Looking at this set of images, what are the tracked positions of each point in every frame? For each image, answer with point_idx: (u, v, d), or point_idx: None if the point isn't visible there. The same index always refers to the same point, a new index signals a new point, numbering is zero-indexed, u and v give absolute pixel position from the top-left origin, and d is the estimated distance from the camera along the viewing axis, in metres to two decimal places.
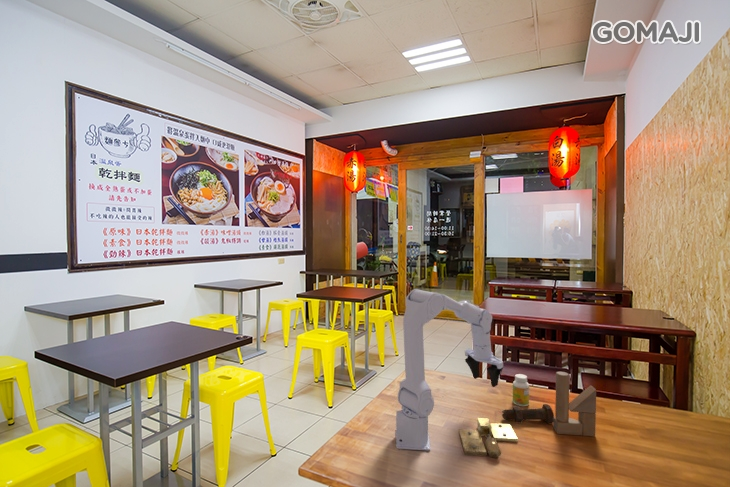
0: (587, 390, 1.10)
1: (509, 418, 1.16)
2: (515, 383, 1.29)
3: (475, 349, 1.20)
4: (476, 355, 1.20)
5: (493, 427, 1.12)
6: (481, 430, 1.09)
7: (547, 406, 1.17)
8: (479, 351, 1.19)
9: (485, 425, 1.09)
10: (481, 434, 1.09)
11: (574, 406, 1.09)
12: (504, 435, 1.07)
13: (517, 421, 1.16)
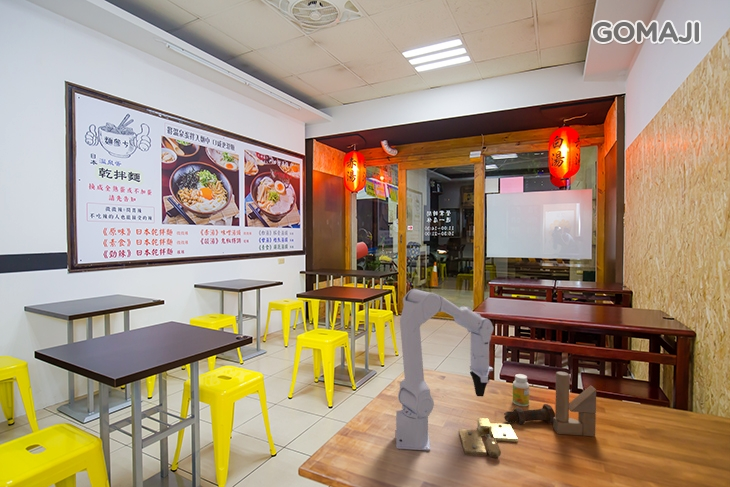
0: (587, 390, 1.10)
1: (512, 420, 1.15)
2: (515, 383, 1.29)
3: None
4: None
5: (493, 427, 1.12)
6: (481, 430, 1.09)
7: (548, 406, 1.17)
8: (472, 360, 1.17)
9: (485, 425, 1.09)
10: (481, 434, 1.09)
11: (574, 406, 1.09)
12: (504, 435, 1.07)
13: (520, 423, 1.15)
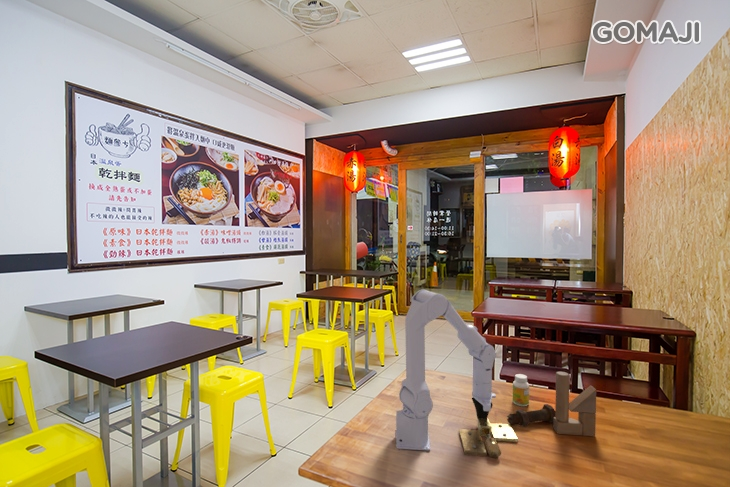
0: (587, 390, 1.10)
1: (516, 422, 1.14)
2: (515, 383, 1.29)
3: None
4: None
5: (493, 427, 1.12)
6: (481, 430, 1.09)
7: (549, 406, 1.17)
8: (474, 386, 1.13)
9: (485, 425, 1.09)
10: (481, 434, 1.09)
11: (574, 406, 1.09)
12: (504, 435, 1.07)
13: (523, 425, 1.14)
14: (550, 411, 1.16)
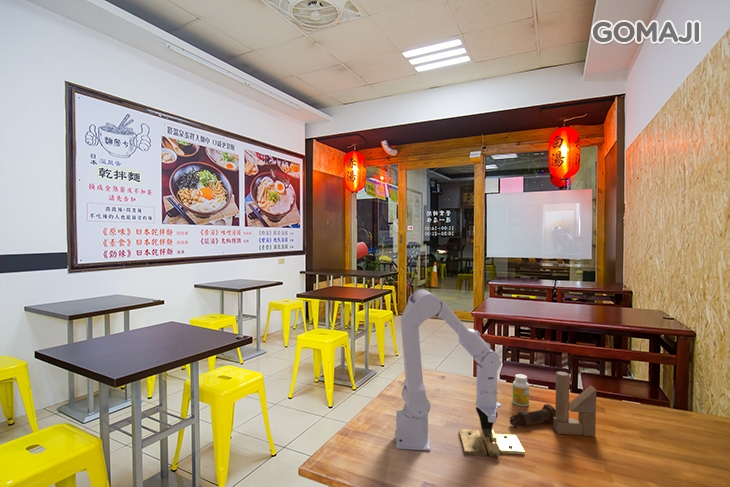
0: (587, 390, 1.10)
1: (518, 424, 1.13)
2: (515, 383, 1.29)
3: None
4: None
5: (498, 438, 1.06)
6: None
7: (549, 406, 1.17)
8: (478, 395, 1.07)
9: (490, 436, 1.03)
10: None
11: (574, 406, 1.09)
12: (510, 447, 1.01)
13: (526, 426, 1.13)
14: (551, 411, 1.16)
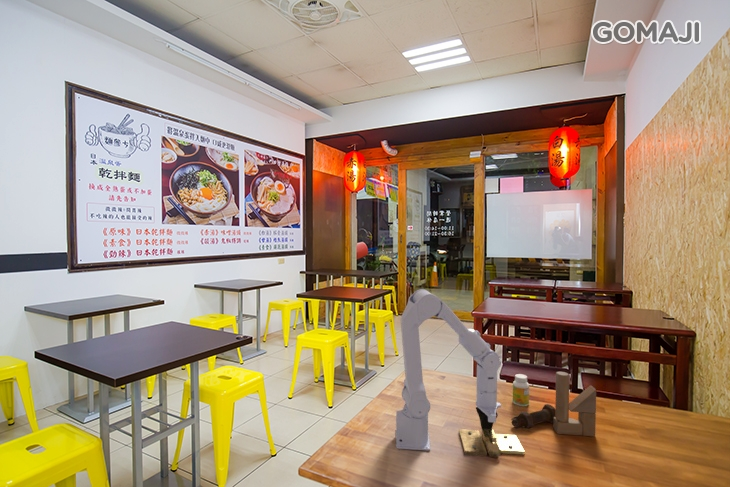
0: (587, 390, 1.10)
1: (521, 425, 1.12)
2: (515, 383, 1.29)
3: None
4: None
5: (498, 438, 1.06)
6: None
7: (550, 406, 1.17)
8: (478, 395, 1.07)
9: (490, 436, 1.03)
10: None
11: (574, 406, 1.09)
12: (510, 447, 1.01)
13: (528, 427, 1.13)
14: (552, 411, 1.16)
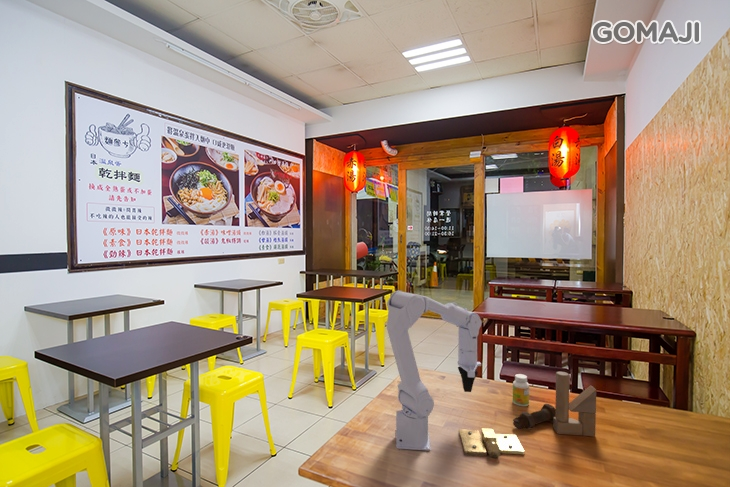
0: (587, 390, 1.10)
1: (522, 426, 1.12)
2: (515, 383, 1.29)
3: (458, 352, 1.16)
4: (458, 358, 1.16)
5: (498, 438, 1.06)
6: None
7: (549, 405, 1.17)
8: (459, 354, 1.15)
9: (490, 436, 1.03)
10: None
11: (574, 406, 1.09)
12: (510, 447, 1.01)
13: (529, 427, 1.12)
14: (552, 410, 1.16)
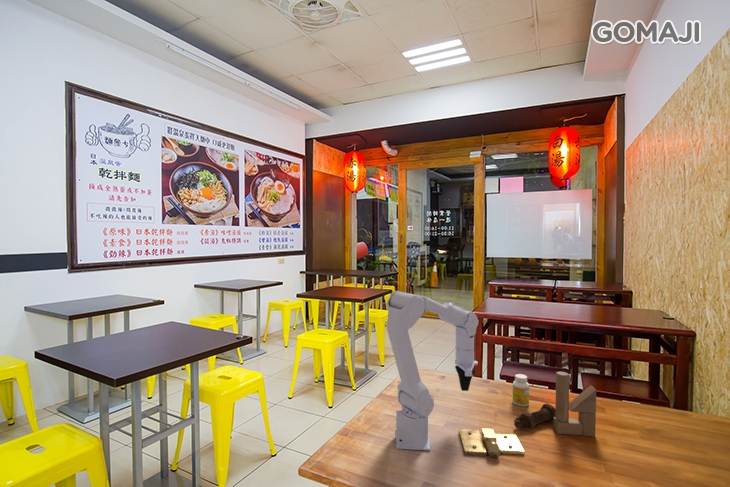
0: (587, 390, 1.10)
1: (524, 426, 1.11)
2: (515, 383, 1.29)
3: None
4: None
5: (498, 438, 1.06)
6: None
7: (549, 405, 1.18)
8: (457, 354, 1.15)
9: (490, 436, 1.03)
10: None
11: (574, 406, 1.09)
12: (510, 447, 1.01)
13: (530, 428, 1.12)
14: (551, 410, 1.16)
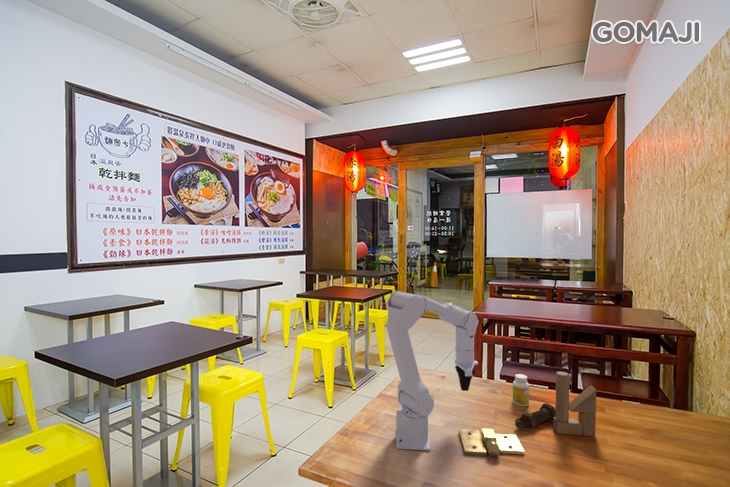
0: (587, 390, 1.10)
1: (525, 427, 1.11)
2: (515, 383, 1.29)
3: None
4: None
5: (498, 438, 1.06)
6: None
7: (548, 405, 1.18)
8: (457, 354, 1.15)
9: (490, 436, 1.03)
10: None
11: (574, 406, 1.09)
12: (510, 447, 1.01)
13: (531, 428, 1.12)
14: (551, 410, 1.16)
